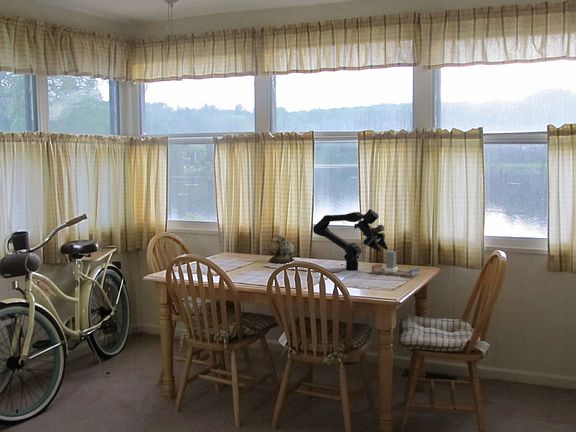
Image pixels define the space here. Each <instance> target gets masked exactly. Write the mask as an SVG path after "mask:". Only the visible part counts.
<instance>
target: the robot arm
mask: <svg viewBox="0 0 576 432" xmlns="http://www.w3.org/2000/svg"><path fill="white" fill-rule="evenodd" d="M378 219H379V214H378V213H377V212H375V210H373V209H371V208H370V209H368V210H367V212H366V213H365V214H363V213H361V212H360V211H353V212H348V213H345V214H343V213H342V214H326V215H323V217H322V218H321V219H320V220H319V221H318V222H317V223H316V224H314V225H313V228H312V231H313V233H314V234H315V235H318V236H320V237H324V238H326V239H327V240H329V241H331V242H332V243H333V244H335V245H337V246H338V247H339V248H341V249H343V250H344V252H345V254H344V255H343V258H344V260H345V270H346V271H358V270H359V261H358V259H359V257H360V256H361V254H362V248H361V247H360V245H358V244H356V242H351V243H350V242H347V241H346V240H344V239H343V238H341V237H339V236H338V235H336V234H335V233H334V232H332V231H331V230H330V229H329V225H330V223H331V222H343V221H344V222H350V223H354V226H353V229H355V230H356V229H359V230H360V232H361V233H362V236H363V237H366V238H365V239H364V240H363V245H364V246H367V247H368V248H371V249H374V250H376V251H377V252H378V253H379V252H380V253H381V252H382V249H384V250H387V251H388V249H389V248H388V246H387V244H386V241H385V238H386V234H385V233H384V231H385V226H384V225H382V224H379V225H377V226H376V227H371V225H373V224H374V223H375V222H376V220H378ZM380 247H381V248H382V249H381V248H380Z"/></svg>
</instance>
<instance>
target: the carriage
mask: <svg viewBox="0 0 576 432" xmlns="http://www.w3.org/2000/svg"><path fill="white" fill-rule="evenodd" d="M398 270H399V267H397V251H393V250H387V251H386V265H385V267H384V271H387V272H397V271H398Z"/></svg>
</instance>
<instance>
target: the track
mask: <svg viewBox="0 0 576 432" xmlns="http://www.w3.org/2000/svg"><path fill="white" fill-rule="evenodd" d="M384 269H385V267H384V268H383V263H380V262H378V263H375V264H372V265H371V274H372V275H380V274H381V275H380V276H382V275H383V276H389V275H390V277H398V276H400V277H401V278H407V277H409V278H410V279H413V278H415V277H417V276H419V275H420V267H419V266H415V267H412V268H410V269H408V270H402V269H401V270H400V269H398V271H397V272H387V271H384ZM409 278H408V279H409Z"/></svg>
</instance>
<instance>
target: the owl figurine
mask: <svg viewBox="0 0 576 432" xmlns="http://www.w3.org/2000/svg"><path fill="white" fill-rule="evenodd" d="M267 252H268V253H269V254H270V255H273V256H271V257H270V258H269V260H268V262H269V263H271V264H276V265H278V264H280V265H287V264H286V263H289V262H292V261H295V262H296V260H295V259H294V257H296V256H295V254H294V252H295V246H294V244H293V243H292V242H291V240H287V238H286V236H285V235H283V234H281V235H279V236H278V238H277V237H273V238H272V239H271V244H270V249H267Z"/></svg>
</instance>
